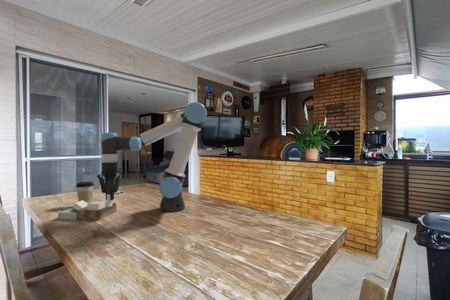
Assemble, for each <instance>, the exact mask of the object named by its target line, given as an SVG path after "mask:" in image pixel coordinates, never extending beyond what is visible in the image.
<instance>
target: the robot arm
mask: <svg viewBox="0 0 450 300" xmlns="http://www.w3.org/2000/svg"><path fill="white" fill-rule="evenodd" d="M207 115H208V112H207V109H206V107H205V106H204V104H202V103H201V102H198V101H193V102H190V103H189V104H188V105H187V106H185V109H184V112H182V113H180V114H179V115H178V116H177V117H176V118H173V119H171V120H169V121H167V122H163V124H160V125H158V126H156V127H154V128H151V129H148V130H146V131H144V132H142V133H140V134H137V135H135V136H118V133H117V132H103V133H102V134H101V140H100V143H101V173H100V174H97V175H96V177H97V178H98V181H99V185H100V191H101V193H102V194H104V195H105V200H106V203H107V207H110V206H112V205H113V203H114V201H113V200H114V199H115V194H116V193H118V191H119V187H120V183H121V179H122V177H123V175H122V174H120V173H119V171H118V162H117V161H118V151H120V152H121V151H122V152H123V151H125V152H126V151H127V152H130V151H131V152H136V151H138V152H139V151H141V150H142V148H144V147H147V146H148V145H151V144H152V143H155V142H157V141H159V140H161V139H163V138H166V137H168V136H170V135H172V134H174V133H177V132H179V131H181V132H180V133H179V134H180V135H179V138H178V141H177V143H176V146H175V149H174V152H173V153H172V154H173V155H172V157H171V160H170V163H169V166H168V168H165V169H164V171H163V172H162V175H161V176H162V178H161V181H159V185H158V188H159V189H158V190H159V192H160V194H161V195H162V197H161V200H160V204H159V211H161V212H167V213H170V212H171V213H174V212H179V211H182V210H185V209H186V203H185V200H184V198H183V184H184V182H185V178H186V174H185V171H186V167H187V163H188V161H189V158H190V155H191V152H192V149H193V146H194V144H195V140H196V139H197V135H198V133H199V132H200V131H202V129H203V126H204V123H205V120H206V119H207Z"/></svg>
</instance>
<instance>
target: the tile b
mask: <svg viewBox="0 0 450 300" xmlns="http://www.w3.org/2000/svg"><path fill="white" fill-rule="evenodd" d="M105 203H106V201H96V200H95V201H93V202H92V201H91V203H89V204H87V210H100V209H102V208H104V207H105Z"/></svg>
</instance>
